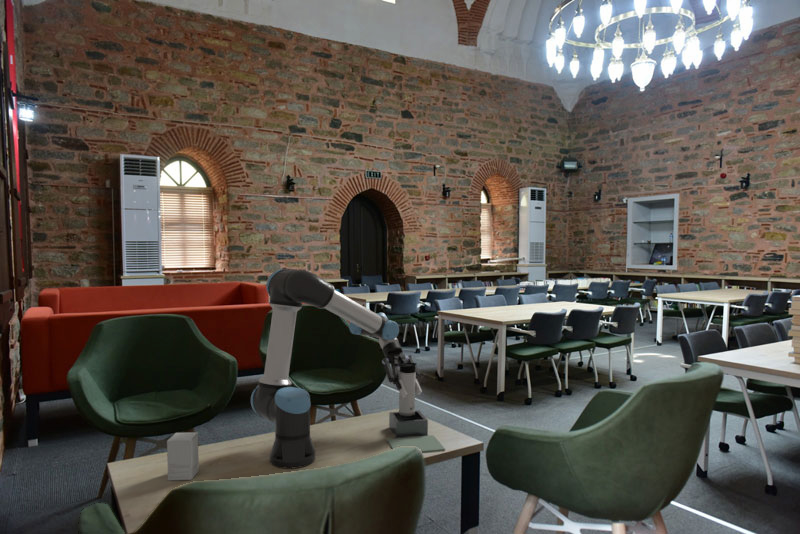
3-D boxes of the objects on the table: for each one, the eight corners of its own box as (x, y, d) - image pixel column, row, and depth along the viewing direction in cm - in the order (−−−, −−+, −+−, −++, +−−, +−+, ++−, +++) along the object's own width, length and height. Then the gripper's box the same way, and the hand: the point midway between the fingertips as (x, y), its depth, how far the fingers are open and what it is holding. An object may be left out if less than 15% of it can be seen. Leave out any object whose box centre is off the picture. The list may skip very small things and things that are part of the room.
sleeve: (396, 438, 198) (396, 422, 198) (389, 427, 210) (389, 412, 210) (427, 435, 201) (427, 420, 201) (419, 424, 213) (419, 410, 213)
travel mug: (415, 416, 202) (416, 365, 202) (398, 415, 202) (399, 364, 202) (415, 411, 208) (416, 361, 208) (399, 411, 209) (400, 361, 208)
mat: (395, 455, 182) (395, 453, 182) (387, 440, 196) (387, 439, 196) (445, 450, 186) (445, 448, 186) (433, 436, 200) (433, 435, 200)
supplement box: (199, 470, 169) (199, 431, 168) (191, 480, 161) (190, 440, 161) (176, 470, 168) (175, 432, 168) (166, 480, 161) (166, 440, 161)
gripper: (406, 349, 223) (428, 396, 210) (367, 353, 212) (388, 403, 199) (413, 338, 218) (436, 386, 205) (373, 342, 208) (395, 392, 195)
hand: (412, 394), depth 202 cm, fingers closed on travel mug, 6 cm apart
